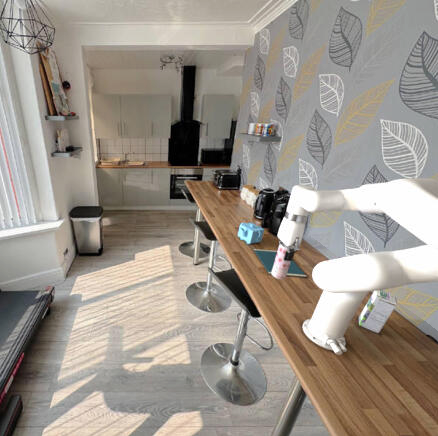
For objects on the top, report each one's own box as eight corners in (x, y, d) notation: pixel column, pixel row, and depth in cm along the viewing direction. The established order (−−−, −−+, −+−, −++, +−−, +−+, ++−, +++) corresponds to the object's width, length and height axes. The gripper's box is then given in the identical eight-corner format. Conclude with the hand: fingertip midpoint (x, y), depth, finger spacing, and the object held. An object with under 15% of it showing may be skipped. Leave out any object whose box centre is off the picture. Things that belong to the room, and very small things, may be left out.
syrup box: (358, 316, 93) (374, 287, 87) (378, 324, 90) (396, 295, 84) (358, 325, 89) (375, 295, 83) (379, 334, 85) (398, 303, 80)
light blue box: (268, 244, 145) (272, 227, 140) (245, 248, 138) (249, 231, 134) (249, 233, 158) (253, 217, 154) (227, 236, 152) (231, 220, 147)
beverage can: (286, 280, 99) (296, 250, 94) (272, 277, 101) (280, 247, 95) (284, 273, 104) (293, 243, 99) (270, 270, 106) (278, 241, 100)
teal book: (307, 277, 115) (307, 276, 115) (269, 274, 116) (269, 273, 116) (284, 251, 137) (284, 251, 137) (253, 249, 138) (253, 248, 138)
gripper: (276, 208, 100) (266, 246, 107) (297, 224, 84) (284, 267, 91) (294, 209, 100) (283, 247, 107) (318, 226, 84) (304, 268, 91)
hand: (284, 256), depth 99 cm, fingers closed on beverage can, 5 cm apart
